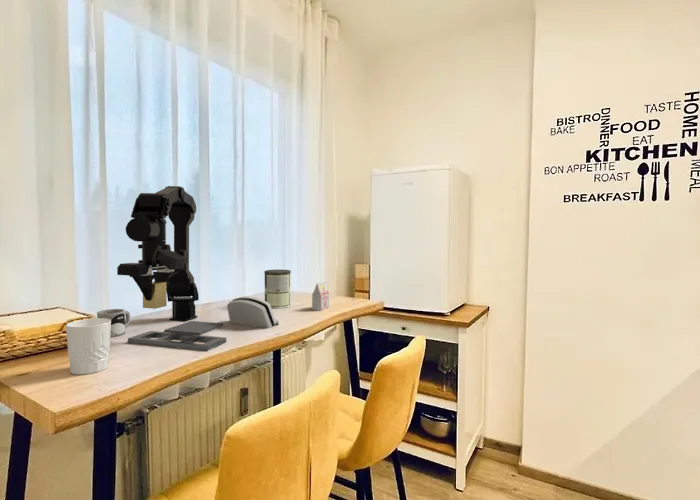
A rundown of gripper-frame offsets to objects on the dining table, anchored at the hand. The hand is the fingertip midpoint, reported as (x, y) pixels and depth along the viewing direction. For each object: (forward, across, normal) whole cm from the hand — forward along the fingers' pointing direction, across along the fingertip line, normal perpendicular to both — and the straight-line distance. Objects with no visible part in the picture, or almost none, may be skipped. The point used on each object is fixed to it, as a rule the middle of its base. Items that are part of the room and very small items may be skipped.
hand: (154, 299), depth 104 cm
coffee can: (+11, +54, -10) cm, 56 cm away
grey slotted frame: (+11, 0, -7) cm, 13 cm away
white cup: (+11, -22, -3) cm, 25 cm away
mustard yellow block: (+2, 0, 0) cm, 2 cm away
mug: (+11, +3, +16) cm, 20 cm away
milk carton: (+11, +54, -28) cm, 62 cm away
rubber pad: (+11, +14, -2) cm, 18 cm away
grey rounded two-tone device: (+12, +24, -15) cm, 31 cm away
